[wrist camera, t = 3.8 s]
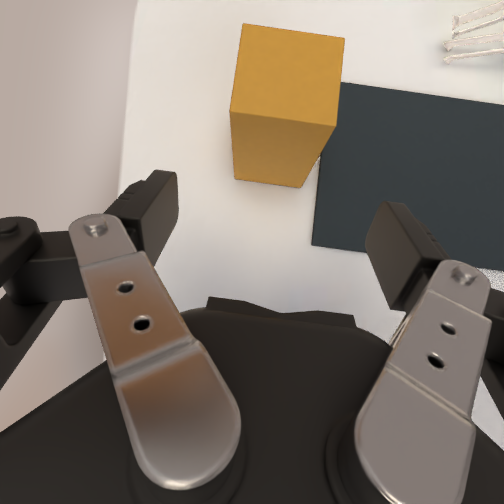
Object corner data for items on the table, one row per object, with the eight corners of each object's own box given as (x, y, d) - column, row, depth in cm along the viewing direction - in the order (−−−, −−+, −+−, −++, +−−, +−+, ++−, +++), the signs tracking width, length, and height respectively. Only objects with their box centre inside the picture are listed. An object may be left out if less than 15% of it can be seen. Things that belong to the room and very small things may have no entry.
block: (307, 130, 24) (345, 37, 15) (300, 188, 23) (336, 126, 15) (242, 121, 24) (242, 22, 15) (234, 179, 23) (229, 111, 14)
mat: (513, 109, 25) (517, 106, 25) (510, 272, 23) (515, 271, 23) (328, 83, 25) (329, 80, 24) (311, 245, 23) (312, 244, 23)
